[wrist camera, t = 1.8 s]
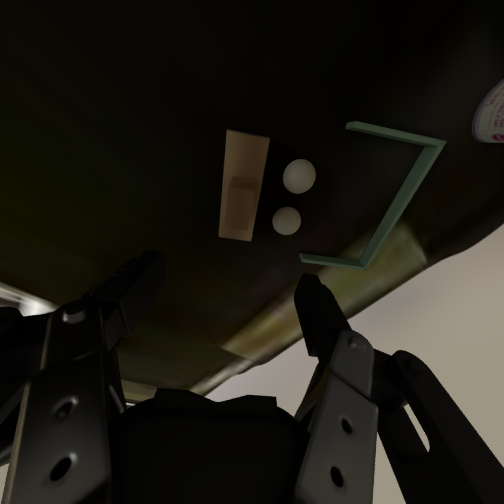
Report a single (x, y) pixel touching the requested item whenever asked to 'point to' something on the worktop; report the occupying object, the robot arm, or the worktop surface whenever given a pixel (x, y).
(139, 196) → the worktop surface
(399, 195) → the corral
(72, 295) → the worktop surface
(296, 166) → the paper ball
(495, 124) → the aerosol can
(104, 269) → the worktop surface
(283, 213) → the paper ball
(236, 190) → the brown t-shaped block
